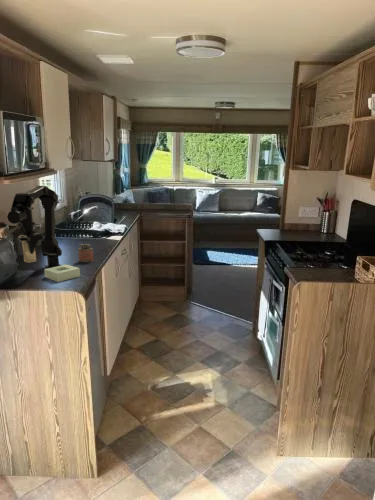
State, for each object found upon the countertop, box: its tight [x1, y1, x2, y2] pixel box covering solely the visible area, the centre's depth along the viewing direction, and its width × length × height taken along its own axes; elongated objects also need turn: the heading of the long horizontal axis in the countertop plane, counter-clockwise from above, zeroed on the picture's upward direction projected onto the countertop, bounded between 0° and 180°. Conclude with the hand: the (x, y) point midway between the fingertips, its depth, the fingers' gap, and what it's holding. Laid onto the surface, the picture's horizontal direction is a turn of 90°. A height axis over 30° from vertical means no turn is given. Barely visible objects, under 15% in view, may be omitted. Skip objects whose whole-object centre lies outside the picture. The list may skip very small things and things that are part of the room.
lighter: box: [77, 243, 94, 263], centre depth 216 cm, size 8×3×10 cm, turn 92°
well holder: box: [44, 264, 81, 283], centre depth 187 cm, size 12×12×4 cm
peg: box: [21, 240, 37, 263], centre depth 181 cm, size 4×4×10 cm
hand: (29, 253), depth 181 cm, fingers closed on peg, 4 cm apart
